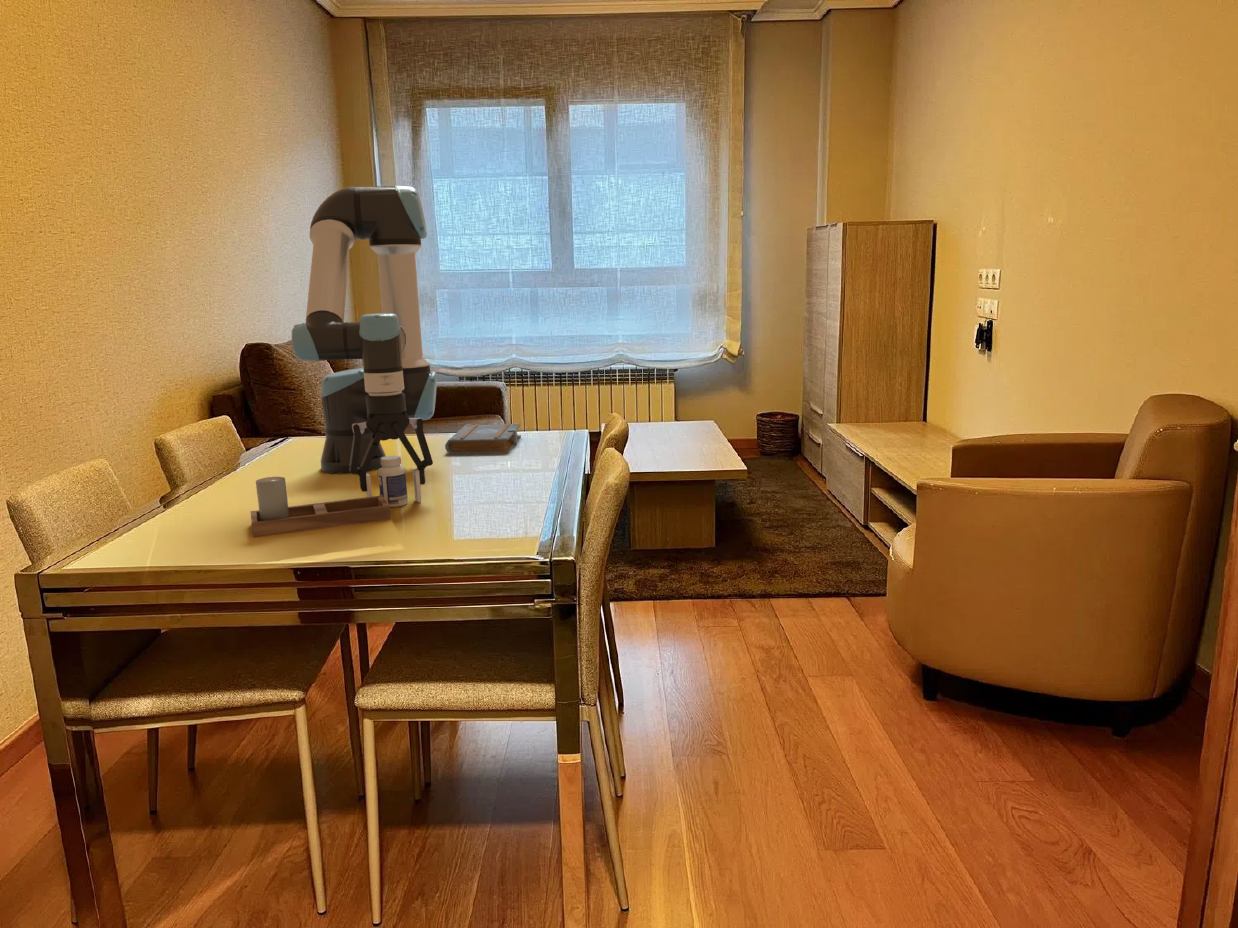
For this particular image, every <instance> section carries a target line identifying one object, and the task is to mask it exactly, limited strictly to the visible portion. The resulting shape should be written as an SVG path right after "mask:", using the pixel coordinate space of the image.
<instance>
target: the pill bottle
mask: <svg viewBox="0 0 1238 928" xmlns="http://www.w3.org/2000/svg"><path fill="white" fill-rule="evenodd" d="M380 464H381V466H382V468H379V469H377V470H378V471H377V477H378V489H379V496H381V495H382V496H383V497H384V499H385V500H386V502H387V503H388V505H389V506H390V508H398V507H402V506H406V505H407V504H408V502H409V500H408V499H409V498H408V486H407V485H408V484H407V475H406V472H407V471H406V469H405V467H404V466H401V464H402V458H401V456H400V455H386V456H385V457H382V458H380Z"/></svg>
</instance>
